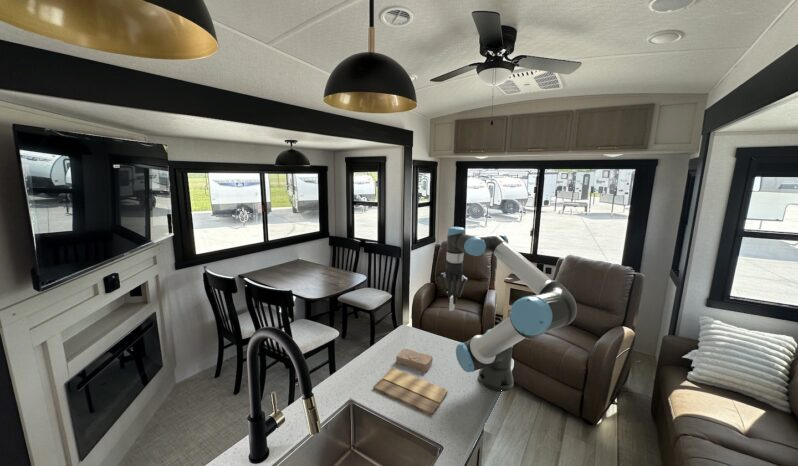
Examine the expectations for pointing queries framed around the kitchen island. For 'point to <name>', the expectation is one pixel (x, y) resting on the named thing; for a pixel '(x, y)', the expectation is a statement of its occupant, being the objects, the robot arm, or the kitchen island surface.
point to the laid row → (406, 397)
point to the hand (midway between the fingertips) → (451, 309)
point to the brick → (414, 359)
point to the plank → (416, 385)
